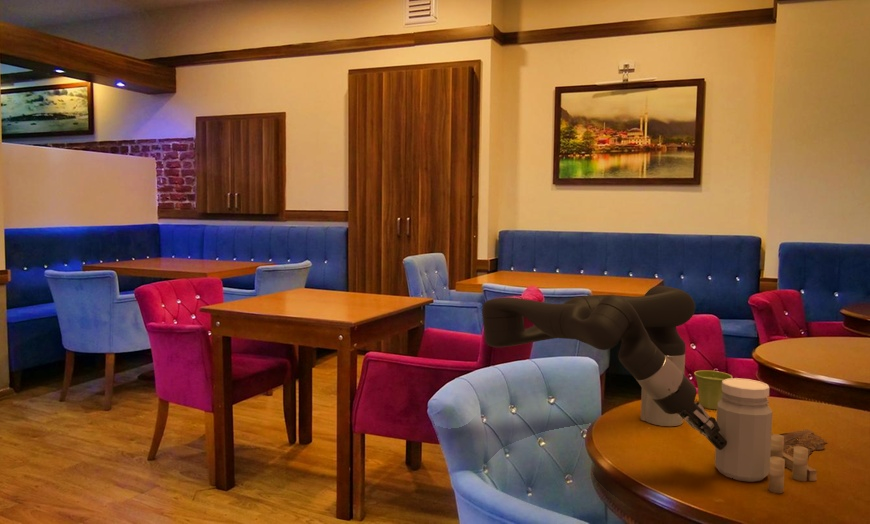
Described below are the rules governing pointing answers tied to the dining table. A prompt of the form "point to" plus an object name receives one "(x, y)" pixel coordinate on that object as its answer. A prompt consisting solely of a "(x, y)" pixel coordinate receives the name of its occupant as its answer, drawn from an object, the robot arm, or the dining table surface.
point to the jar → (744, 430)
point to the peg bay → (787, 464)
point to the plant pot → (710, 387)
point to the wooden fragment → (802, 441)
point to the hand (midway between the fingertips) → (722, 445)
